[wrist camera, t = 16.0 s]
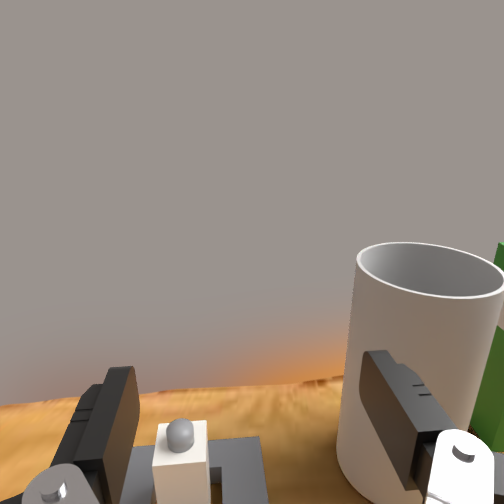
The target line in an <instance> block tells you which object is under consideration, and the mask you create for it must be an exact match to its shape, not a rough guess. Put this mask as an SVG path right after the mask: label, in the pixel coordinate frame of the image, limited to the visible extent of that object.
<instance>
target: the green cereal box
mask: <svg viewBox="0 0 504 504" xmlns="http://www.w3.org/2000/svg"><path fill="white" fill-rule="evenodd" d="M493 264H494V265H496V266H497V267H499V268H500V269H501V270H502V271H503V272H504V242H502V243H499V244H498V248H497V251H496V255H495V259H494V263H493ZM470 425H471V426H472V428H473V429H474V430H475V432H476V433H477V435H478V436H479V437H480V439H481V440H482V442H483V443H484V444H485V445H486V446H487V447H488V448H489V450H490V451H492V452H504V301H503V305H502V308H501V312H500V316H499V319H498V323H497V326H496V330H495V334H494V337H493V341H492V344H491V348H490V352H489V355H488V359H487V362H486V366H485V369H484V373H483V377H482V380H481V384H480V387H479V391H478V395H477V398H476V402H475V405H474V409H473V413H472V416H471V420H470Z"/></svg>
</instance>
